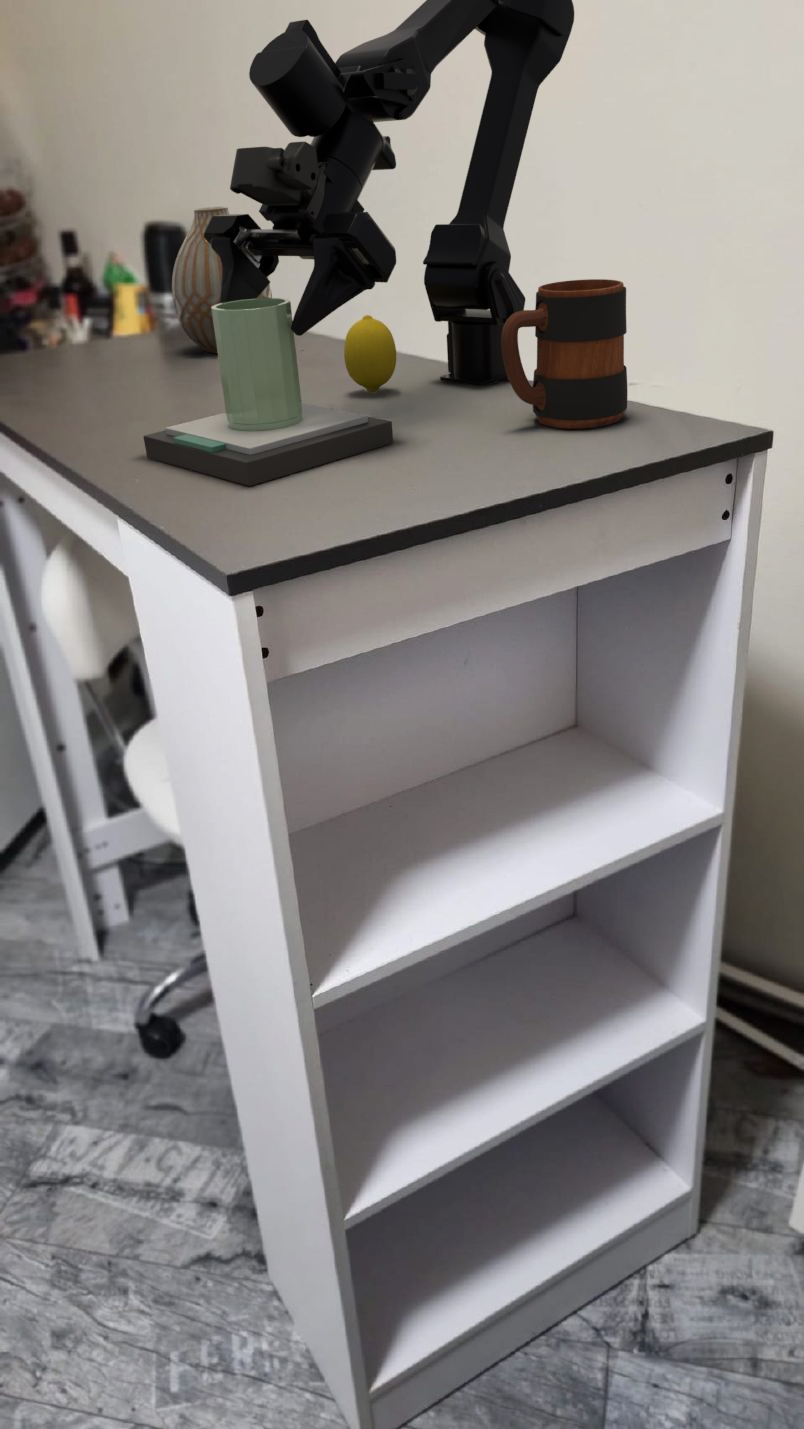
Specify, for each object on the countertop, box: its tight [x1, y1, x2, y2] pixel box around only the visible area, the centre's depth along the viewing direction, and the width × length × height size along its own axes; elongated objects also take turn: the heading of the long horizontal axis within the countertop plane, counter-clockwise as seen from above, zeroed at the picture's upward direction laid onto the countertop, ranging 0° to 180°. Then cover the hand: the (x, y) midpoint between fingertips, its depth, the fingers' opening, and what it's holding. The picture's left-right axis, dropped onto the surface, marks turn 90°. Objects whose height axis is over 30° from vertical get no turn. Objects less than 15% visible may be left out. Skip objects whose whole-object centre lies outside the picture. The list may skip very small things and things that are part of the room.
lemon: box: [343, 314, 397, 394], centre depth 116 cm, size 6×6×8 cm
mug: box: [501, 278, 628, 430], centre depth 99 cm, size 9×12×12 cm
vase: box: [171, 206, 273, 354], centre depth 145 cm, size 13×13×18 cm
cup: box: [211, 297, 303, 431], centre depth 96 cm, size 7×7×10 cm
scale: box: [142, 402, 394, 487], centre depth 99 cm, size 16×16×3 cm
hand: (257, 330), depth 95 cm, fingers open, 9 cm apart
